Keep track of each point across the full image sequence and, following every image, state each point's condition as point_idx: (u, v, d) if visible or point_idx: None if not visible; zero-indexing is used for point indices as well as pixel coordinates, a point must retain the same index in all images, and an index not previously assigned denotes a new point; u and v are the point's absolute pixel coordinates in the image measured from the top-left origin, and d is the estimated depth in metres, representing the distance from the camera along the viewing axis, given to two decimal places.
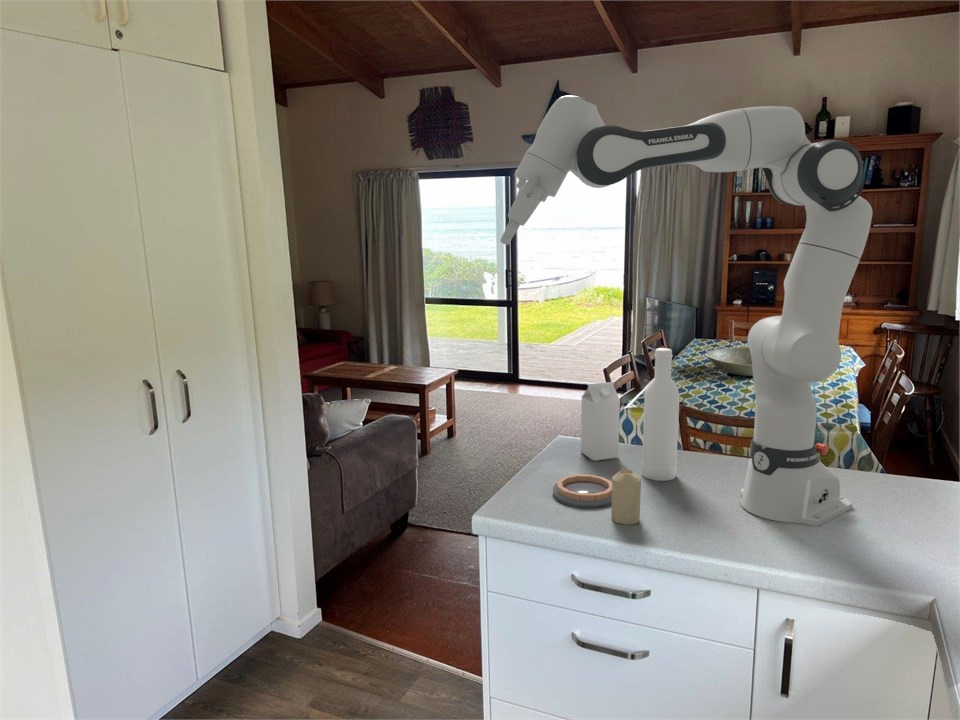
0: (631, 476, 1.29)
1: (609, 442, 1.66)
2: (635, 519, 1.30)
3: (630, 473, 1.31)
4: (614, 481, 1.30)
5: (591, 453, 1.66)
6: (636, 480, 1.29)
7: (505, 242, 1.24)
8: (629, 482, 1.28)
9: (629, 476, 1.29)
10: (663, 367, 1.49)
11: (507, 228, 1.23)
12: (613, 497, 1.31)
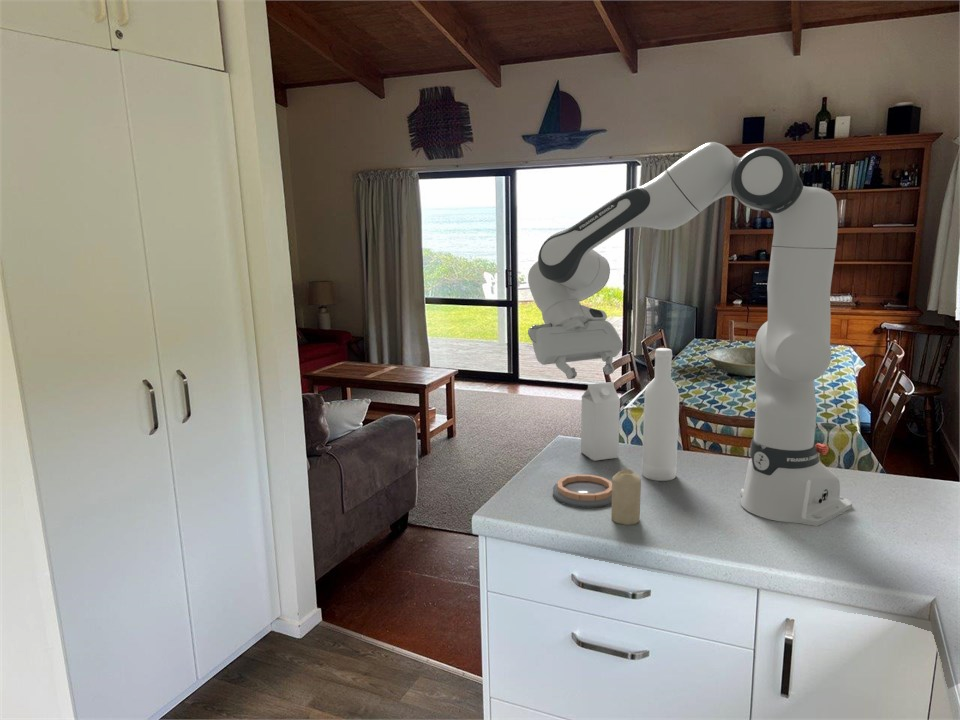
0: (631, 476, 1.29)
1: (609, 442, 1.66)
2: (635, 519, 1.30)
3: (630, 473, 1.31)
4: (614, 481, 1.30)
5: (591, 453, 1.66)
6: (636, 480, 1.29)
7: (569, 375, 1.36)
8: (629, 482, 1.28)
9: (629, 476, 1.29)
10: (663, 367, 1.49)
11: (560, 368, 1.37)
12: (613, 497, 1.31)
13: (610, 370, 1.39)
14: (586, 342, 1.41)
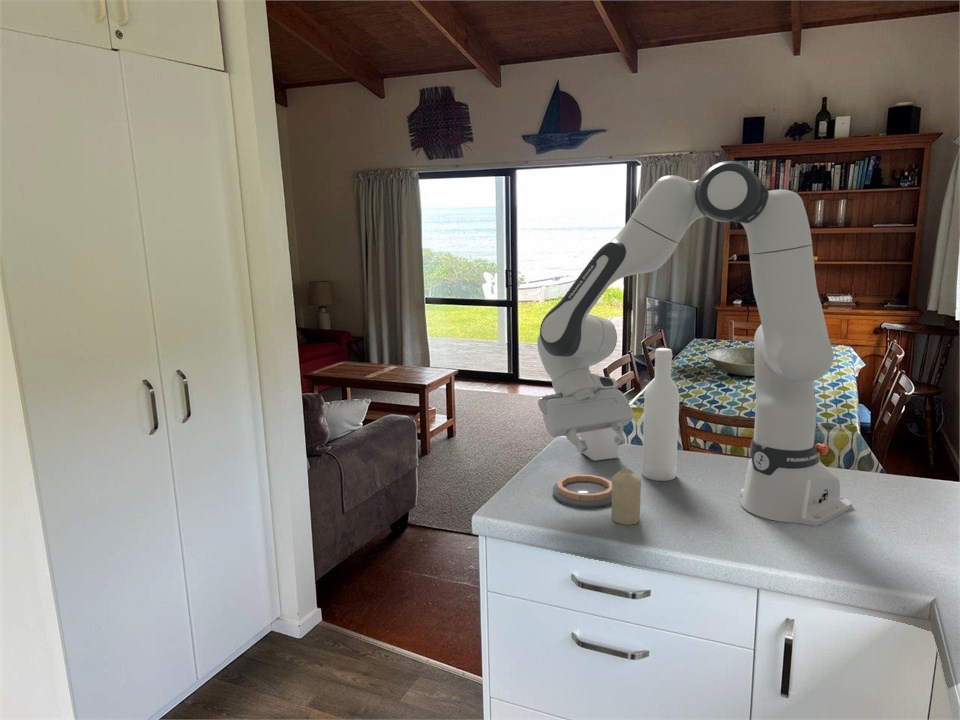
0: (631, 476, 1.29)
1: (609, 442, 1.66)
2: (635, 519, 1.30)
3: (630, 473, 1.31)
4: (614, 481, 1.30)
5: (591, 453, 1.66)
6: (636, 480, 1.29)
7: (580, 449, 1.35)
8: (629, 482, 1.28)
9: (629, 476, 1.29)
10: (663, 367, 1.49)
11: (571, 441, 1.36)
12: (613, 497, 1.31)
13: (621, 441, 1.38)
14: (597, 413, 1.40)
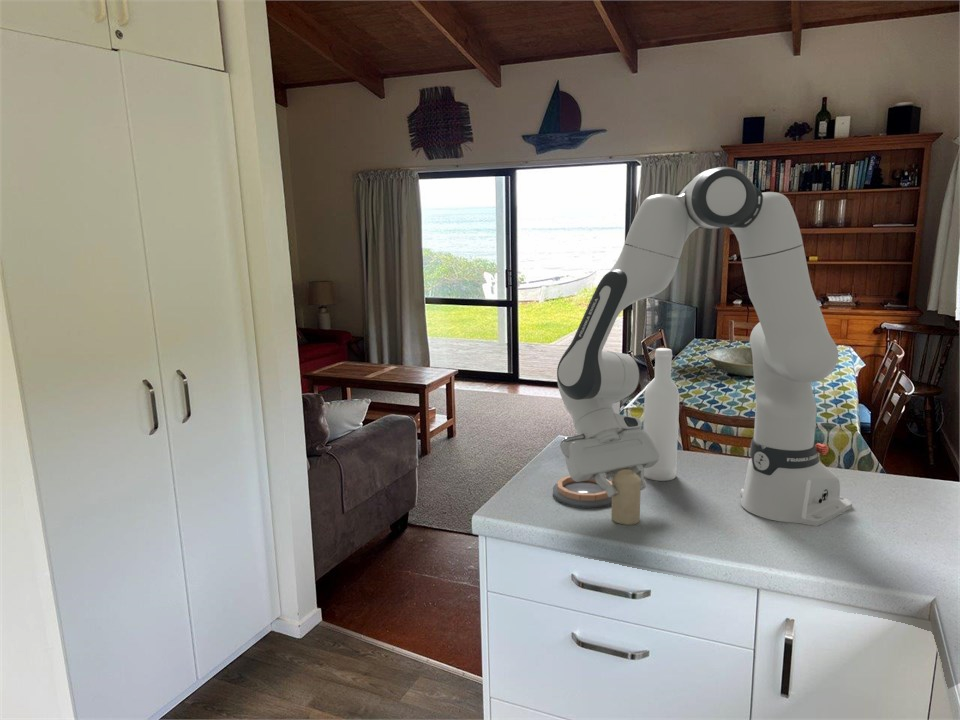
0: (631, 476, 1.29)
1: None
2: (635, 519, 1.30)
3: (630, 473, 1.31)
4: (614, 481, 1.30)
5: None
6: (636, 480, 1.29)
7: (610, 494, 1.29)
8: (629, 482, 1.28)
9: (629, 476, 1.29)
10: (663, 367, 1.49)
11: (600, 485, 1.30)
12: (613, 497, 1.31)
13: (642, 487, 1.31)
14: (621, 455, 1.33)
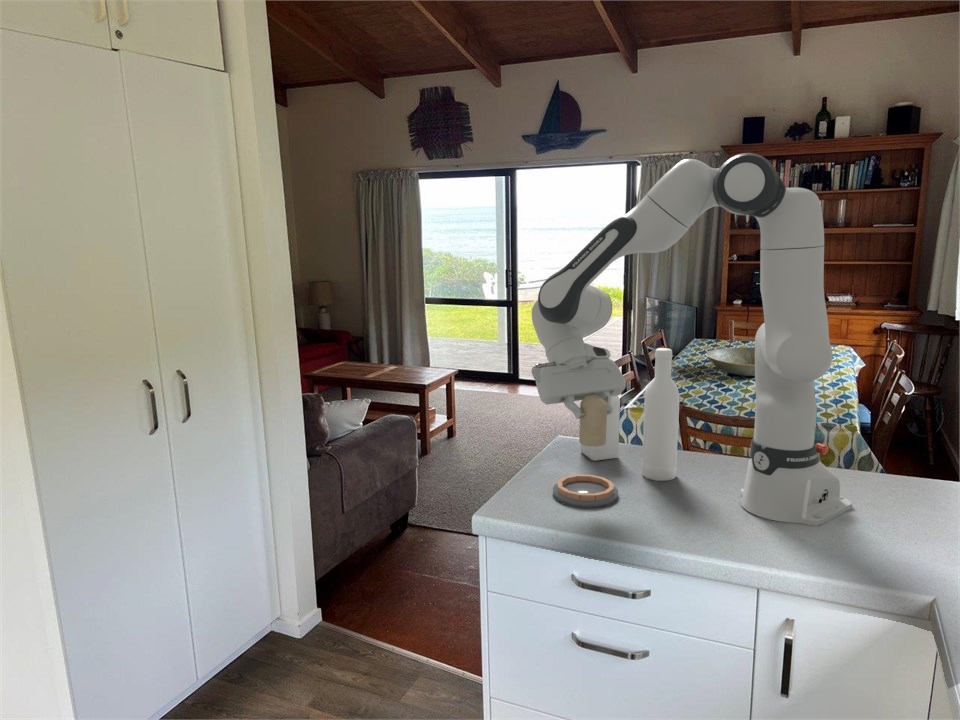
0: (598, 400, 1.36)
1: (609, 442, 1.66)
2: (601, 441, 1.37)
3: (597, 398, 1.38)
4: (582, 405, 1.37)
5: (591, 453, 1.66)
6: (602, 404, 1.36)
7: (578, 415, 1.36)
8: (596, 405, 1.35)
9: (596, 400, 1.36)
10: (663, 367, 1.49)
11: (568, 408, 1.37)
12: (581, 420, 1.38)
13: (608, 411, 1.39)
14: (589, 381, 1.40)
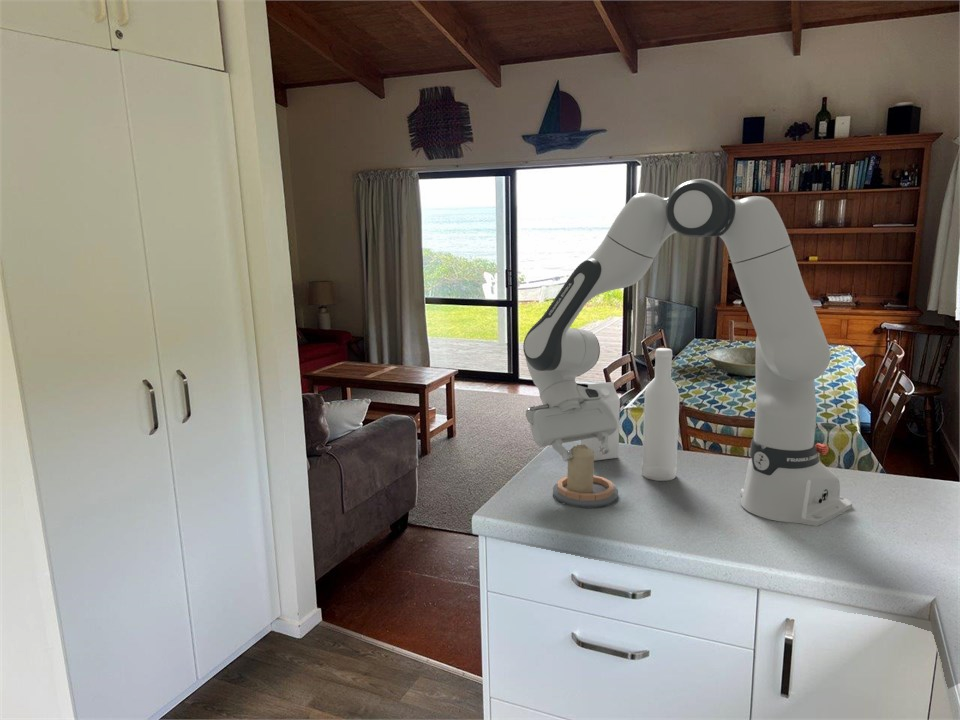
0: (584, 450, 1.40)
1: (609, 442, 1.66)
2: (588, 490, 1.41)
3: (584, 448, 1.43)
4: None
5: None
6: (589, 454, 1.40)
7: (565, 458, 1.40)
8: (582, 456, 1.40)
9: (582, 450, 1.40)
10: (663, 367, 1.49)
11: (557, 450, 1.42)
12: (568, 469, 1.42)
13: (605, 451, 1.44)
14: (582, 423, 1.45)
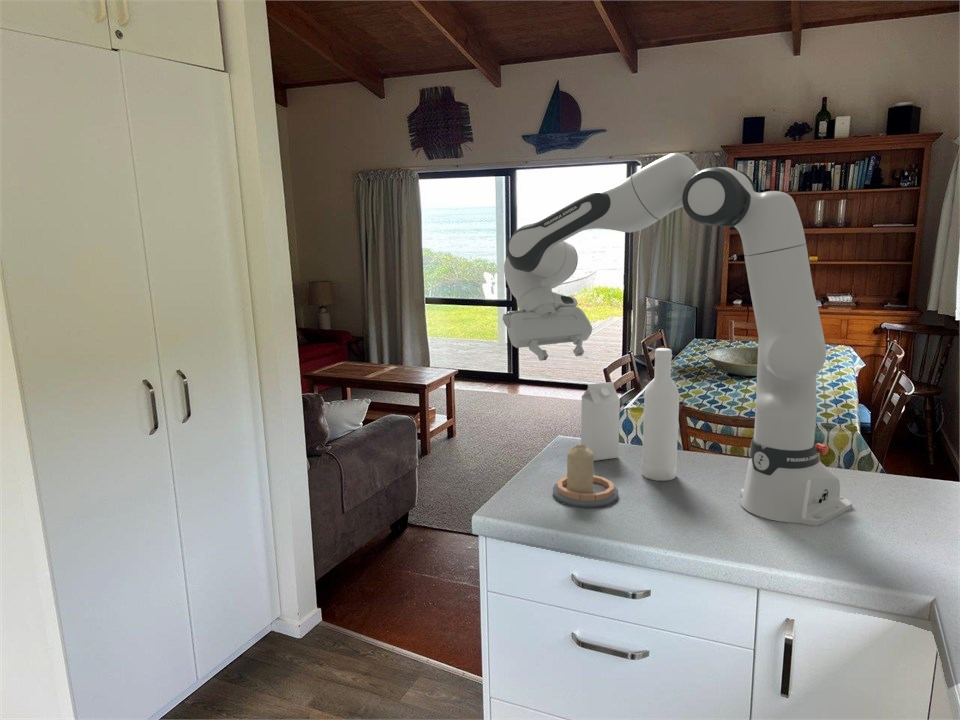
0: (584, 450, 1.40)
1: (609, 442, 1.66)
2: (588, 490, 1.41)
3: (584, 448, 1.43)
4: (568, 455, 1.41)
5: None
6: (588, 454, 1.40)
7: (541, 357, 1.46)
8: (582, 456, 1.40)
9: (582, 450, 1.40)
10: (663, 367, 1.49)
11: (533, 351, 1.47)
12: (568, 470, 1.42)
13: (580, 352, 1.49)
14: (557, 326, 1.50)
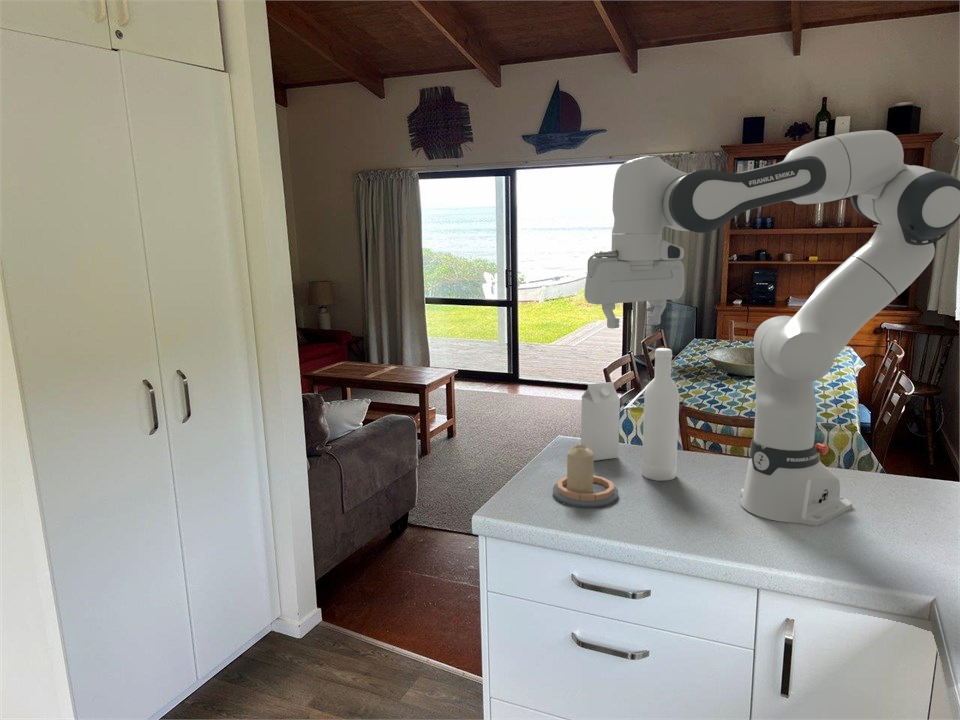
0: (584, 450, 1.40)
1: (609, 442, 1.66)
2: (588, 490, 1.41)
3: (584, 448, 1.43)
4: (568, 455, 1.41)
5: None
6: (588, 454, 1.40)
7: (610, 326, 1.20)
8: (582, 456, 1.40)
9: (582, 450, 1.40)
10: (663, 367, 1.49)
11: (604, 312, 1.20)
12: (568, 470, 1.42)
13: (655, 324, 1.24)
14: (646, 288, 1.20)
